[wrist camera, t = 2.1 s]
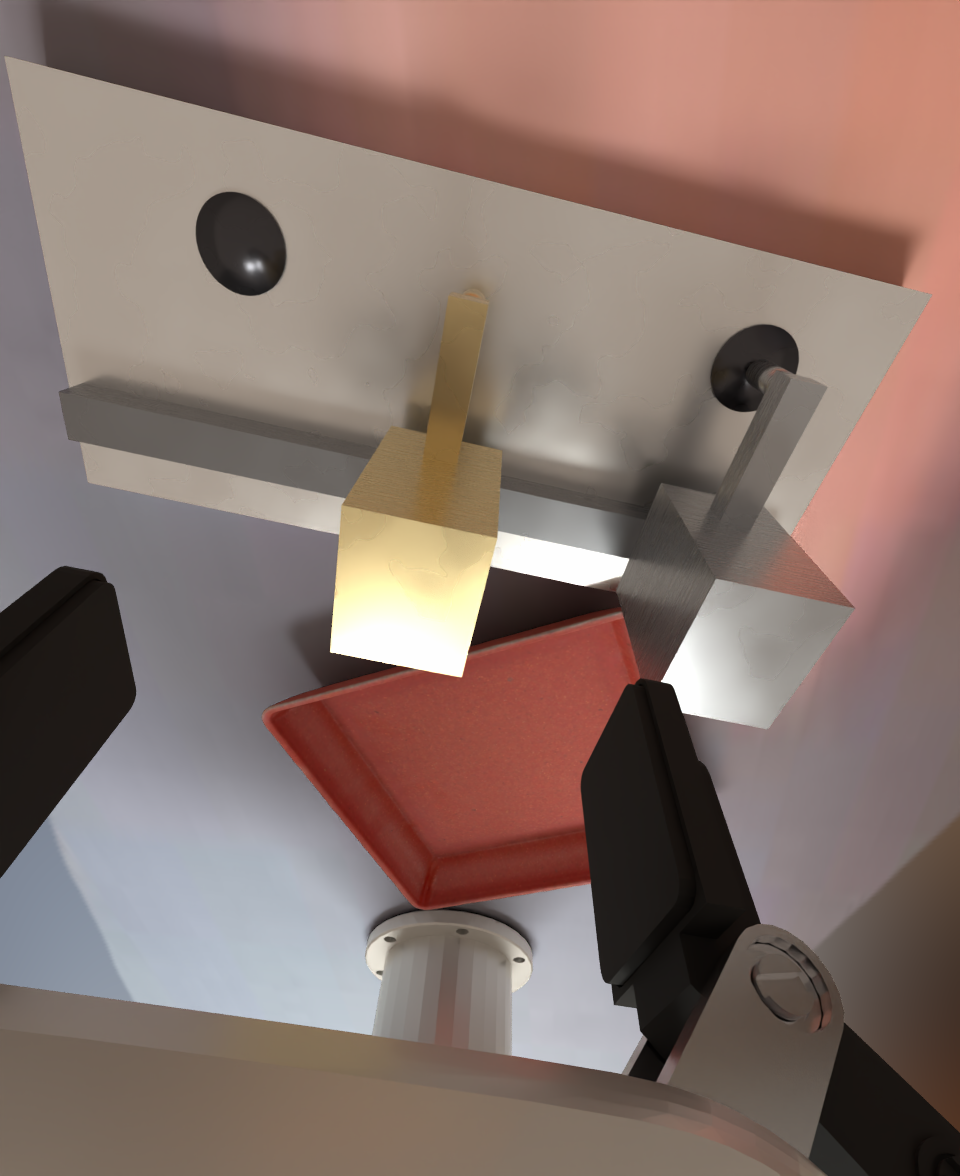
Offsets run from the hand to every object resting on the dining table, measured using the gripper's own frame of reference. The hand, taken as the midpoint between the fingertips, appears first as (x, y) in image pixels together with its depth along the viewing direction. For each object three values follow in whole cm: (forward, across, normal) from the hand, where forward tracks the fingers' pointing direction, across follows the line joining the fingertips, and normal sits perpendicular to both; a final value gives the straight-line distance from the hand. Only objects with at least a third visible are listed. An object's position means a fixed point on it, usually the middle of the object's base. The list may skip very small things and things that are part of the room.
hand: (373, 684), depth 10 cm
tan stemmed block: (+11, 0, -1) cm, 11 cm away
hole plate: (+13, 0, -2) cm, 13 cm away
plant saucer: (+13, -6, +16) cm, 21 cm away
